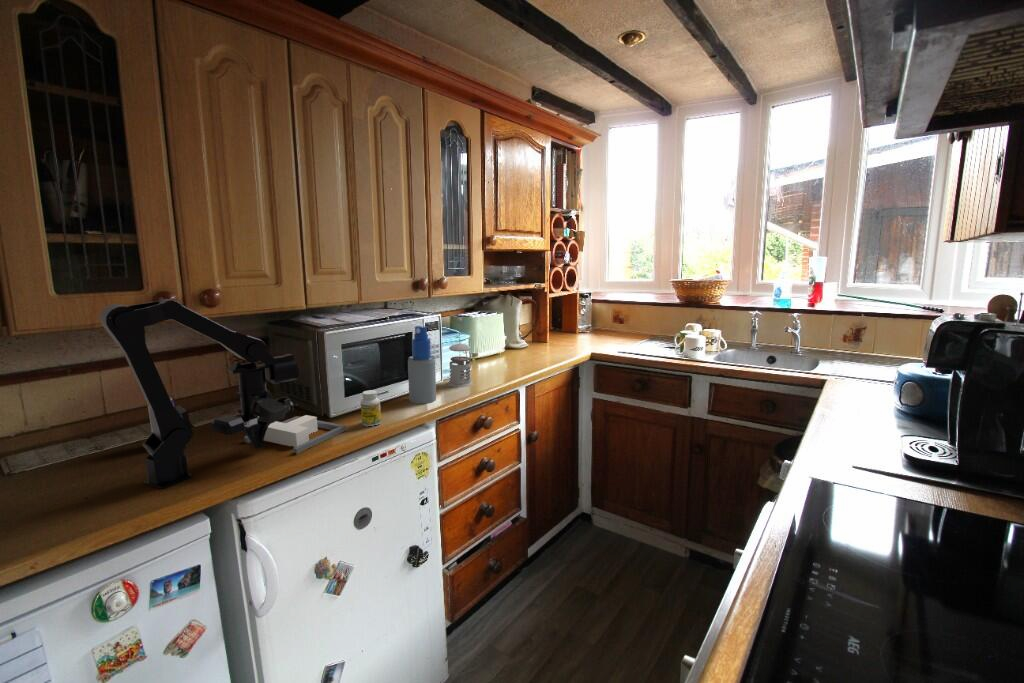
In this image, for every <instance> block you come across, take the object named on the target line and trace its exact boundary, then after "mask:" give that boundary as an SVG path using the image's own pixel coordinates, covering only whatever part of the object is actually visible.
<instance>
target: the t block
mask: <svg viewBox="0 0 1024 683" xmlns="http://www.w3.org/2000/svg"><path fill="white" fill-rule="evenodd" d="M299 417H300V418H297V419H295V420H293V421H290V422H288V423H282V422H283V421H275V422H274V423H271V424H270V425H269V426H268V428H267V430H266V433H265V436H264V440H263V442H264V441H265V442H268V443H274V444H279V445H283V446H286V445H287V446H288V447H291V446H293V447H292V448H295V447H297V446H299V445H301V444H303V443H305V442H307V441H310V435H312V434H314V433H316V432H318V428H319V427H318V426H317V420H318V416H313V415H307V414H305V415H303V416H299ZM313 432H314V433H313ZM311 433H312V434H311ZM309 434H310V435H309ZM287 446H286V447H287Z"/></svg>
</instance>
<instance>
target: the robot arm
mask: <svg viewBox="0 0 1024 683" xmlns="http://www.w3.org/2000/svg"><path fill="white" fill-rule="evenodd" d="M169 320H172V321H174V322H175V323H178V324H180V325H182V326H185V327H186V328H188V329H190V330H192V331H194V332H197V333H198V334H201V335H202V336H205V337H206V338H209V339H211V340H212V341H215V342H217V343H218V344H220V345H221V346H222V347H224V348H225V349H226V350H227V351H228V352H230V353H231V354H233V355H234V356H235V357H237V358H239V359H242V360H243V361H244V360H245V361H246V363H240V362H238V361H234V362H233V364H231V365H230V366H229V367H228V368H227V371H228V372H229V373H232V374H233V375H234V374H237V376H238V390H239V391H237V392H235V395H236V398H239V399H240V408H237V413H238V414H241V415H240V416H234V415H230V414H227V415H224V416H221V417H217V418H214V420H213V421H212V423H211V426H212V427H211V428H212V429H211V430H212V432H213V433H214V432H215V433H220V434H223V435H228V436H230V435H234V434H236V433H239V432H244V434H245V436H247V437H248V438H249V439H250V441H251V442H250V443H251V444H252V445H253V447H254V448H255V449H257V450H259V449H261V448H262V446H263V442H264V436H265V433H266V430H267V428H268V426H269V425H270V424H271V423H274V422H275V421H277V422H279V421H280V420H281V421H282V420H284V419H285V416H286V415H287V414H290V413H292V412H294V411H295V409H294V402H292V401H291V398H290V397H288V396H286V395H285V396H282V397H280V398H278V397H277V398H273V396H272V392H271V390H268V389H267V381H268V382H270V383H271V384H272V385H275V384H280V383H281V384H282V383H285V382H291V381H296V380H298V378H299V376H300V375H299V374H300V369H299V367H298V364H297V362H296V360H295V358H294V354H291V353H287V354H283V355H279V356H278V355H277V356H273V355H271V354H270V352H269V351H268V350H267V345H266V343H265V341H263V340H262V339H260V338H257V337H254V336H251V335H248V334H244V333H242V332H238V331H235V330H232V329H229V328H227V327H226V326H223V325H221V324H220V323H218V322H216V321H214V320H212V319H210V318H208V317H206V316H205V315H202V314H200V313H198V312H196V311H194V310H192V309H190V308H189V307H187V306H185V305H183V303H181V302H179V301H178V300H175V299H171V298H164V299H161V300H157V301H152V302H151V301H150V302H145V303H144V302H143V303H142V302H141V303H137V304H131V305H125V304H122V303H113V304H112V303H111V304H109V305H107V306H105V307H104V308H103V309H101V312H100V313H99V322H100V324H101V326H102V327H103V328H104V330H105V331H106V332H107V334H108V335H109V336H110V338H111V339H112V340H113V341H114V342H115V344H116V345H117V346H118V347H119V348H120V350H121V351H122V353H123V354H124V357H125V359H126V361H127V363H128V365H129V368H130V370H131V372H132V373H133V376H134V379H135V380H136V383H137V385H138V386H139V389H140V391H141V393H142V395H143V398H144V400H145V402H146V403H147V407H148V406H149V408H150V417H151V424H152V429H153V433H152V432H151V434H150V435H148V437H147V438H146V439H145V440H144V441H143V442H142V446H143V448H144V449H145V450H146V452H147V453H149V455H148V456H145V458H144V460H145V467H146V473H147V479H145V480H143V483H144V484H145V485H148V486H152V487H155V488H158V489H161V490H162V489H166V488H169V487H170V486H172V485H175V484H177V483H180V482H182V481H184V480H186V479H189V478H191V477H192V475H193V474H192V473H190V472H189V465H188V464H189V463H188V457H187V454H185V449H186V446H187V445H188V444H189V442H191V439H192V438H193V429H195V425H193V423H192V422H191V420H190V415H189V413H188V410H186V409H185V408H183V407H181V405H177V406H175V405H174V406H173V404H172V402H171V400H170V398H171V397H170V396H169V393H168V392H167V389H166V387H165V385H164V382H163V379H162V378H161V376H160V374H159V372H158V369H157V367H156V365H155V363H154V360H153V358H152V355H151V354H150V351H149V349H148V347H147V336H146V328H145V327H148V326H152V325H156V324H159V323H162V322H165V321H169ZM256 362H259V363H260V364H256ZM150 417H149V418H150ZM151 424H150V425H151Z"/></svg>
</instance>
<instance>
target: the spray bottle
mask: <svg viewBox="0 0 1024 683" xmlns="http://www.w3.org/2000/svg"><path fill="white" fill-rule="evenodd" d="M427 330H428V328H427V326H426V325H425V326H421V325H417V326H414V334H413V338H412V339H411V346H412V347H411V349H412V350H411V352H412V353H411V354H412V356H408V358H407V371H408V372H407V374H408V376H407V377H408V378H407V379H408V399H409V400H408V401H409V402H410V403H413V404H416V405H424V404H425V405H426V404H430V402H431V403H434V402H435V401H437V384H436V383H437V381H436V377H437V374H436V359H435V356H434V355H432V353H431V352H432V351H431V350H432V349H431V338H429V334H428V331H427ZM433 401H434V402H433Z"/></svg>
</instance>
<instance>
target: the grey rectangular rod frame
mask: <svg viewBox="0 0 1024 683" xmlns="http://www.w3.org/2000/svg"><path fill="white" fill-rule="evenodd" d="M300 417H301V416H297V415H295V416H294V417H292V418H289V419H285V420H284V421H281V422H282V423H288V422H290V421H293V420H295V419H297V418H300ZM317 426H318V428H320V429H325V430H329V431H327V432H325V433H322V434H320V435H318V436H317V437H314V438H312V439H309V441H307V442H305V443H303V444H301V445H299V446H297V447H292V450H293V454H294V453H299V452H301V451H303V450H305V449H307V448H309V447H312V446H314V445H316V446H318V445H320V444H322V443H324V442H326V441H328V440H330V439H332V438H334V437H333V436H335V435H337V434H339V435H340V433H341V434H342V432H343V433H345V432H346V431H347V426H346V425H344V424H339V423H334V422H328V421H323V420H318V419H317ZM344 431H345V432H344ZM337 436H338V435H337ZM331 437H332V438H331ZM335 437H336V436H335ZM243 438H244V443H246V444H249V443H252V442H251V441H250V439H249V438H248V437H247V435H245V436H244V437H243ZM329 438H330V439H329ZM327 439H328V440H327ZM325 440H326V441H325ZM323 441H324V442H323ZM321 442H322V443H321ZM319 443H320V444H319ZM317 444H318V445H317ZM314 447H315V446H314ZM312 448H313V447H312Z"/></svg>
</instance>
